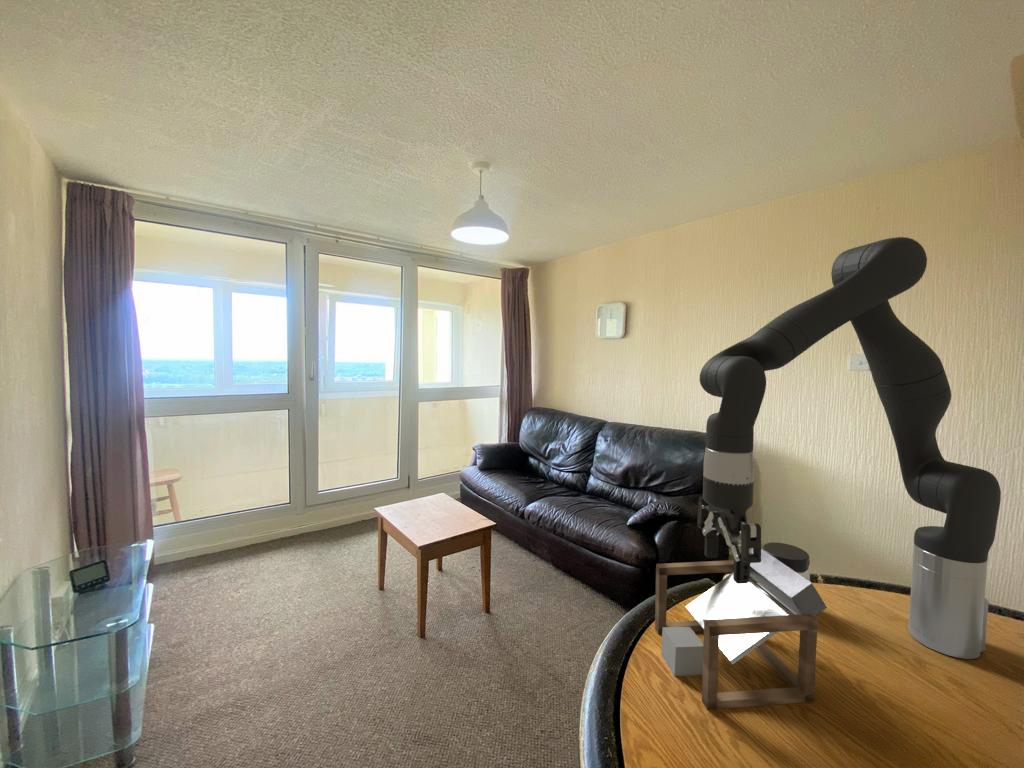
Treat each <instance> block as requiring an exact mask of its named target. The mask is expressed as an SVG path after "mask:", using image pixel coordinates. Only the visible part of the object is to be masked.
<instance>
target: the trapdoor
mask: <svg viewBox="0 0 1024 768" xmlns="http://www.w3.org/2000/svg"><path fill="white" fill-rule="evenodd" d="M750 549H751V552H752V554H753V548H750ZM749 576H750V579H749V582H748V583H744V584H737V583H736V582H735V581H734V580H733V572H731V573H730V574H728V575H727V576H726V577H724V578H723V579H722V580H720V581H718V583H716V584H715V585H714V586H711V588H709V589H708V590H707V591H705V592H703V593H702V594H701V595H699V596H698V597H697V598H695V599H694V600H692V601H691V602H689V603H688V604H687V605H686V606H685V608H686V609H687V611H688V612H689V613H690V615H691V616H692V617H693V618H694V619H695V621H697V622H698V623H699V624H700V626H701V627H702V628H703V629H704V620H713V619H730V618H746V617H763V616H780V615H795V614H794V613H793V612H791V611H790V610H789V609H788V608H786V607H785V606H784V605H783V604H782V603H780V602H779V601H778V600H777V599H775V598H774V597H773V596H772V595H771V594H773V595H774V596H775V597H776V598H778V599H779V600H780V601H781V602H783V603H784V604H785V605H786V606H787V607H789V608H790V609H791V610H792V611H794V612H795V613H796V614H811V615H812V616H813V617H815V618H816V616H818V615H819V614H820V613H822V612H823V611H824V610H826V609H827V608H828V606H827V605H826V604H825V602H824V600H823V599H822V597H821V596H820V594H819V592H818V591H817V589H816V587H815V586H814V584H813V583H812V582H811V580H810V581H808V580H807V579H805V578H804V577H802V576H801V575H799V574H798V573H796V572H795V571H793V570H792V569H790V568H789V567H788V566H786V565H785V564H783V563H782V562H780V561H779V560H777V559H776V558H774V557H773V556H771V555H770V554H768V553H767V552H766V551H764V550H763V548H761V562H760V563H750V575H749ZM760 585H762V586H763V587H764V588H765V589H766V590H768V591H769V592H770V593H771V594H769V593H768V592H767V591H766V590H764V589H763V588H762V587H761V586H760ZM777 633H778V632H768V633H752V634H736V635H720V636H719V650H720V651H721V652H722V653H723V655H724V656H725V657H726V658H727V660H728V661H729V662H730V663H731V664H732V665H734V664H736V663H737V662H738V661H740V660H741V659H743V658H744V657H745V656H747V655H748V654H750V653H751V652H752V651H754V650H755V648H756V647H758V646H759V645H761V644H762V643H765V642H766V641H767V640H769V639H770V638H772V637H773V636H775V635H776V634H777Z"/></svg>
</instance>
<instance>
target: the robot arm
mask: <svg viewBox="0 0 1024 768" xmlns="http://www.w3.org/2000/svg"><path fill="white" fill-rule="evenodd" d="M926 253H927V252H926V251H925V249H924V247H923V246H922V244H920V242H919V241H917V240H915V239H913V238H910V237H905V236H898V237H889V238H885V239H880V240H877V241H873V242H870V243H866V244H863V245H859V246H857V247H853V248H849V249H847V250H844V251H843V252H841V253H840V254H839V255H838V256H837V257H836V258H835V260H834V261H833V263H832V266H831V273H830V274H831V275H830V276H831V282H832V287H830V288H829V289H827V290H825V291H823V292H821V293H819V294H817V295H815V296H813V297H810V298H809V299H807V300H804V301H803V302H801V303H799V304H796V305H795V306H793V307H791V308H789V309H787V310H786V311H784V312H782V313H781V314H779V315H778V316H777V317H775V318H774V319H772V320H771V321H769V322H768V323H766V324H765V325H764V326H762V327H761V328H760V329H758V330H757V331H756V332H755V333H754V334H752V335H751V336H749V337H748V338H745V339H743V340H741V341H739V342H737V343H735V344H733V345H731V346H729V347H727V348H725V349H723V350H721V351H720V352H717V354H715V355H713V356H712V357H711V358H709V359H708V360H707V361H706V362H705V363H704V365H703V367H702V368H701V370H700V373H699V383H700V386H701V388H702V389H703V390H704V391H705V392H706V393H707V394H709V395H711V396H713V397H716V398H721V402H720V407H719V411H718V412H714V413H712V414H709V416H708V418H707V421H706V427H705V431H706V432H705V450H704V451H705V452H704V458H703V476H702V477H703V479H702V496H699V497H698V503H697V504H698V506H697V519H696V520H697V521H696V522H697V524H696V525H697V527H698V529H701V530H702V534H703V536H704V556H705V557H706V558H708V559H714V558H715V559H717V558H718V557H719V546H720V545H719V543H720V542H719V541H720V539H719V538H720V537H718V536H719V534H721V536H722V537H723V538H724V539H725V543H726V545H727V546H728V547H730V548H731V553H732V555H733V558H734V559H733V560H734V570H733V572H732V573H733V580H734V581H735V582H736V583H737V584H744V583H748V582H749V579H750V578H751V575H750V563H760V562H761V549H762V528H761V524H759V523H757V522H756V523H751V522H749V521H748V519H747V511H748V510H749V509H751V508H752V507H753V505H754V488H755V487H754V486H755V485H754V484H755V459H754V440H755V439H754V437H755V435H754V434H755V432H754V428H755V427H754V426H755V424H756V421H757V418H758V416H759V413H760V410H761V406H762V403H763V399H764V398H765V393H766V388H767V376H766V372H769V371H773V370H777V369H781V368H783V367H785V366H786V365H788V364H789V363H791V362H792V361H793V360H794V359H796V358H797V357H799V356H800V355H802V354H803V353H804V352H805V351H808V349H810V348H811V347H812V346H813V345H815V344H816V343H818V342H819V341H821V340H822V339H823V338H825V337H827V336H828V335H829V334H831V333H833V332H834V331H836V330H837V329H839V328H840V327H842V326H843V325H845V324H847V323H848V322H850V323H851V325H852V327H853V329H854V332H855V334H856V335H857V338H858V340H859V344H860V345H861V349H862V351H863V354H864V357H865V360H866V362H867V364H868V367H869V369H870V374H871V377H872V379H873V383H874V385H875V389H876V390H877V391H876V392H877V394H878V395H877V396H878V398H879V399H880V401H881V404H882V407H883V410H884V413H885V415H886V418H887V421H888V424H889V428H890V430H891V434H892V437H893V441H894V443H895V444H894V445H895V448H896V452H897V453H896V454H897V457H898V458H897V459H898V463H899V468H900V473H901V477H902V482H903V484H904V485H903V486H904V488H905V490H906V492H907V494H908V495H909V497H910V498H911V499H912V501H914V502H915V503H916V504H919V505H920V506H923V507H924V508H925V507H926V508H929V509H931V510H934V511H937V512H941V513H943V514H946V515H945V516H946V517H945V520H944V523H943V524H944V525H943V526H938V525H937V526H935V525H934V526H933V525H926V526H925V525H924V526H920V527H918V528H916V529H915V531H914V535H913V551H912V552H913V553H912V571H911V582H910V597H909V598H910V599H909V610H908V611H909V614H908V627H907V628H908V629H907V630H908V633H909V634H910V636H911V637H912V638H913V639H915V640H916V641H917V642H919V643H920V644H922V645H924V646H925V647H927V648H929V649H931V650H932V651H936V652H938V653H941V654H944V655H946V656H950V657H954V658H958V659H965V660H973V659H978V658H979V657H980V656H981V652H982V653H983V652H985V651H986V642H987V630H988V628H987V627H988V617H989V616H988V615H989V600H988V599H987V598H986V588H987V574H988V573H987V570H988V560H989V559H988V557H989V552H990V550H991V548H992V546H993V544H994V542H995V539H996V531H997V525H998V520H999V519H998V518H999V513H1000V508H1001V507H1000V506H1001V501H1002V498H1001V496H1002V495H1001V494H1002V492H1001V486H1000V483H999V480H998V479H997V477H996V476H995V475H994V474H993V473H991V472H990V471H987V470H985V469H983V468H978V467H975V466H971V465H965V464H961V463H957V462H952V461H947V460H946V459H945V458H944V457H943V456H942V453H941V451H940V448H939V445H938V440H937V436H936V435H937V429H938V427H939V425H940V423H941V421H942V420H943V418H944V416H945V414H946V412H947V410H948V409H949V406H950V404H951V400H952V390H951V385H950V383H949V380H948V376H947V374H946V371H945V368H944V365H943V362H942V360H941V358H940V357H939V355H938V354H937V353H936V352H935V351H934V349H933V348H931V347H930V346H929V344H927V343H926V342H924V340H922V339H921V338H920V337H919V336H918V335H917V334H915V333H914V331H912V330H911V329H909V328H908V327H907V326H906V325H905V324H904V323H903V322H902V321H900V319H899V318H898V316H896V314H895V312H894V310H893V309H892V306H891V304H890V302H889V300H890V299H892V298H895V297H897V296H898V295H900V294H902V293H904V292H906V291H908V290H910V289H912V288H913V287H914V286H915V285H916V284H918V283H919V281H920V280H921V279H922V278H923V276H924V275H925V272H926V269H927V265H928V257H927V254H926ZM705 517H707V518H706V520H705V521H704V518H705ZM739 537H740V539H737V538H739ZM739 547H740V550H741V551H740V550H739ZM752 548H753V554H752V552H751V549H752Z"/></svg>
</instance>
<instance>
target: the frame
mask: <svg viewBox="0 0 1024 768" xmlns="http://www.w3.org/2000/svg"><path fill="white" fill-rule="evenodd" d="M733 570H734V559H733V560H712V561H692V562H691V561H689V562H688V561H687V562H671V563H668V562H667V563H655V602H654V603H655V605H654V606H655V607H654V608H655V609H654V610H655V611H654V612H655V614H654V630H655V631H656V633H657V634H658V635H662V629H663V627H691V629H692V630H693V631H694V633H696V632H697V633H699V632H703V642H702V643H703V674H702V681H701V682H702V687H701V688H702V689H701V702H702V704H703V705H704V707H705V709H706V710H709V711H710V710H722V709H733V708H747V707H757V706H770V705H771V706H772V705H785V704H795V703H796V704H798V703H799V704H800V703H809V702H810V703H811V702H815V687H816V686H815V684H816V667H817V663H816V662H817V647H818V646H817V645H818V641H817V640H818V619H817V618H816V616H815V617H813V616H812V615H811V614H797V615H780V616H763V617H746V618H730V619H713V620H704V629H703V628H702V627H701V626H700V624H699V623H698V622H697V621H696V620H684V621H682V620H681V621H667V604H668V603H667V598H668V597H667V596H668V592H667V591H668V576H676V575H677V576H678V575H680V576H682V575H696V574H697V575H698V574H716V573H717V574H719V573H733ZM798 631H799V645H798V646H799V648H798V649H799V650H798V669H797V674H795V673H794V672H793V670H791V669H790V667H788V666H787V665H786V664H785V662H783V661H782V660H781V659H780V658H779V657H778V656H777V655H776V654H775V653H774V652H773V650H772V649H770V648H769V646H767V645H766V644H765V642H763V643H762V644H761V645H759V646H758V647H756V648H755V649H754V650H755V651H756V652H757V654H758V655H760V656H761V657H762V658H763V660H765V662H766V663H767V664H768V665H769V666H770V668H772V669H773V671H775V673H777V674H778V675H779V676H780V678H781V679H782V680H783V681H784V682H785V683H786V684H787V685H788V686H789V687H780V688H779V687H778V688H766V689H765V688H764V689H751V690H741V691H739V690H738V691H737V690H736V691H723V692H718V686H719V685H718V682H719V679H718V678H719V655H720V654H719V650H720V649H719V636H720V635H736V634H752V633H768V632H777V633H779V632H781V633H782V632H783V633H784V632H798Z"/></svg>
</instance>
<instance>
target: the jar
mask: <svg viewBox="0 0 1024 768" xmlns="http://www.w3.org/2000/svg"><path fill="white" fill-rule="evenodd" d="M762 549H763V550H764V551H766V552H767V553H768V554H770V555H771V556H773V557H774V558H776V559H777V560H779V561H780V562H782V563H783V564H785V565H786V566H788V567H789V568H790V569H792V570H793V571H795V572H796V573H798V574H799V575H801V576H802V577H804V578H805V579H807V580H808V581H810V582H811V580H810V578H811V577H810V576H811V566H810V561H811V560H810V555H809V554H808V552H807V551H805V550H804V549H802V548H800V547H798V546H796V545H794V544H793V545H792V544H788V543H784V542H774V541H773V542H767V543H764V544H763V546H762ZM759 585H760V584H759ZM760 586H761V587H762V588H763V589H764V590H766V589H765V588H764V587H763V586H762V585H760ZM766 591H767V592H768V593H769V594H771V593H770V592H769V591H768V590H766ZM771 595H772V596H773V597H774V598H775V599H777V600H778V601H779V602H780V603H782V604H783V605H784V606H785V607H786V608H788V609H789V610H790V611H791V612H793V613H794V614H795V615H797V614H796V613H795V612H794V611H792V610H791V609H790V608H789V607H787V606H786V605H785V604H784V603H783V602H781V601H780V600H779V599H778V598H776V597H775V596H774V595H773V594H771Z"/></svg>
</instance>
